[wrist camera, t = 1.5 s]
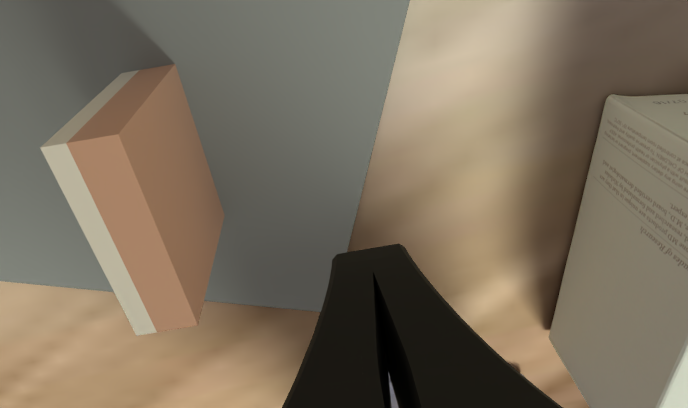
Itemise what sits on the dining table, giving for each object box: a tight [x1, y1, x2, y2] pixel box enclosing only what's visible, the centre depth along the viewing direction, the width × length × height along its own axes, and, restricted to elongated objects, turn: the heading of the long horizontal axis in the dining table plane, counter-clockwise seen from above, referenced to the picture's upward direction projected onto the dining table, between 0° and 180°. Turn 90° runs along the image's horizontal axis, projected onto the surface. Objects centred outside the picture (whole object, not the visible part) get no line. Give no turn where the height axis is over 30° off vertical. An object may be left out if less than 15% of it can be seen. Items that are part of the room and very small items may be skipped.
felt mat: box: [0, 0, 410, 312], centre depth 18 cm, size 14×15×1 cm
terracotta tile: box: [40, 64, 225, 336], centre depth 15 cm, size 2×6×6 cm, turn 9°
